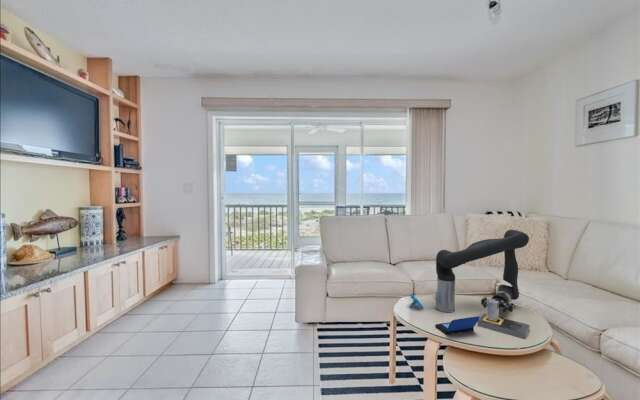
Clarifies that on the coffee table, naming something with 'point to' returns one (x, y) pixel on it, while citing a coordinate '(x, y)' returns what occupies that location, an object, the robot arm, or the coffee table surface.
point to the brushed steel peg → (493, 311)
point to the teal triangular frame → (415, 302)
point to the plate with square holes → (505, 326)
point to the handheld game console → (458, 325)
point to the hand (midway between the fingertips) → (493, 308)
